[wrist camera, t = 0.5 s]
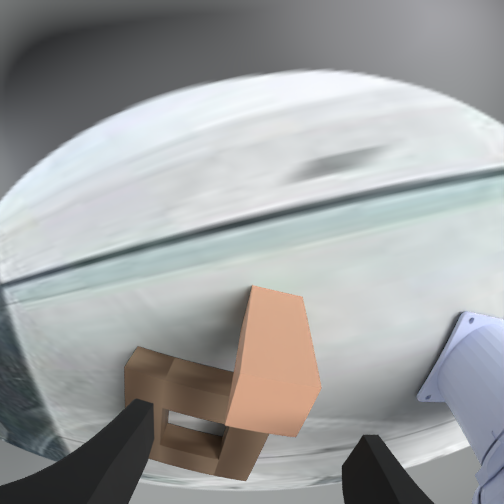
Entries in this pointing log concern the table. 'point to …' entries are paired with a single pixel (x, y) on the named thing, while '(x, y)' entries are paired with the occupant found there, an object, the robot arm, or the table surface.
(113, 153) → the table surface
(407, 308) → the table surface
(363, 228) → the table surface
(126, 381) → the socket
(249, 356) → the peg
